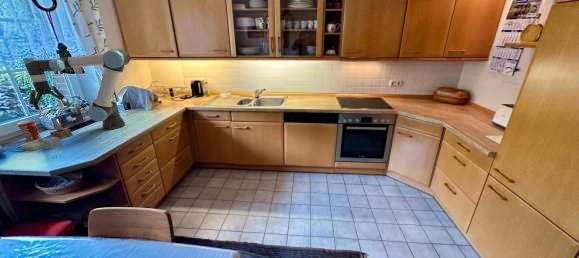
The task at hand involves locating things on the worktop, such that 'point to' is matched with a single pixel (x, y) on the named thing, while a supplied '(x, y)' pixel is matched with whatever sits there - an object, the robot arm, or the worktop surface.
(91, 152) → the worktop surface
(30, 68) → the robot arm
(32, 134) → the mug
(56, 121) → the pin gauge
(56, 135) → the bored block
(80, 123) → the worktop surface
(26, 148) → the tray
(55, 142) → the block
